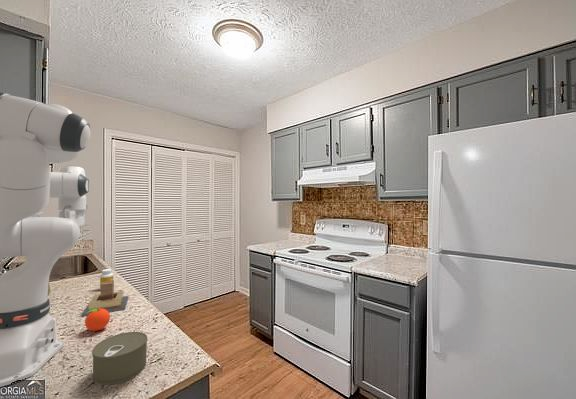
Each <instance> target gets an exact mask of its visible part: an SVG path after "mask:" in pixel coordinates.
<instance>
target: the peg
mask: <svg viewBox="0 0 576 399" xmlns="http://www.w3.org/2000/svg"><path fill="white" fill-rule="evenodd" d="M114 287H115V280H114V279H113V281H105V282H102V283H101V290H100V292H99V294H100V300H105V299H112V298H114V292H115V288H114Z"/></svg>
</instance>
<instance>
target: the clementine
mask: <svg viewBox="0 0 576 399" xmlns="http://www.w3.org/2000/svg"><path fill="white" fill-rule="evenodd" d="M91 311H92V312H91ZM91 311H89V312H90V313H89V314H88V316H85V319H84V326H85V328H86V329H88V330H89V331H91V332H96V331H100V330H103V329H104V328H105V327H106V326H107V325H108V324H109V323H110V320H111V314H110V312H108V311H107V310H105V309H94V310H91ZM87 313H88V312H87Z"/></svg>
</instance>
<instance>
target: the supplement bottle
mask: <svg viewBox="0 0 576 399" xmlns="http://www.w3.org/2000/svg"><path fill="white" fill-rule="evenodd" d="M113 280H114V273H113V271H112V268H106V269H102V270H101V274H100V276H99V289H100V291H101V283H102V282H105V281H113Z"/></svg>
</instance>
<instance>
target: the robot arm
mask: <svg viewBox="0 0 576 399" xmlns="http://www.w3.org/2000/svg"><path fill="white" fill-rule="evenodd" d="M91 135H92V134H91V125H90V123H89V122H88V121H87V120H86V119H85V118H84V117H82V116H80V115H78V114H75V113H74V112H72V110H70V109H69V108H68V107H66V106H63V105H61V104H58V103H44V102H41V101H37V100H34V99H29V98H25V97H22V96H15V95H12V94H11V93H6V92H0V259H7V258H17V257H24V258H25V261H24V262H23V263H22V264H20V265H19V266H17V267H14V268H12V269H9V270H8V271H6V272H4V273H2V274H1V275H0V388H1V387H4V386H8V385H11V383H12V382H14V381H16V380H21V381H23V380H26V379H28V378H30V377H32V376H33V375H35V374H36V372H38V371H39V370H40V369H42V367H44V366H45V364H46V363H48V361H50V360H51V358H53V357H54V356H55V355H56V354H57V353H58V352H59V351H60V350H61V349H62V348H63V347H64V342H63V341H61V340H60V341H59V340H58V332H57V331H58V330H57V320H56V318H54V317H53V316H52V315H51V314H50V307H51V302H50V299H49V295H48V283H49V284H50V276H51V272H52V269H53V268H54V266H55V264H56V263H57V261H58V260H60V259H61V257H62V256H63V255H64V254H66V253H67V252H68V251H69V250H71V249H73V248H75V246H77V243H78V242H79V240H80V237H81V227H84V226H85V222H86V215H87V211H86V210H88V204H87V196H86V194H88V193H89V192H90V190H89V189H90V188H89V187H90V180H89V178H87V176H86V170H85V169H84V168H83V167H81V166H77V165H76V166H75V165H64V166H61V168H60V171H51V168H50V164H61V163H67V162H70V161H72V160H75V159H76V158H77V157H78V156H79V155H80V154H81V153H82V151H84V150H85V148H86V147H87V145H88V144H89V142H90V141H91ZM50 198H53V199H54V198H57V201H58V208H57V209H58V211H59V214H58V216H38V217H37V216H36V217H35V216H34V215H37V214H39V213H41V212H42V211H43V210H45V208H47V206H48V205H49V203H50V200H51V199H50ZM33 216H34V217H33ZM25 378H26V379H25ZM22 379H23V380H22ZM12 384H13V383H12Z"/></svg>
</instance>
